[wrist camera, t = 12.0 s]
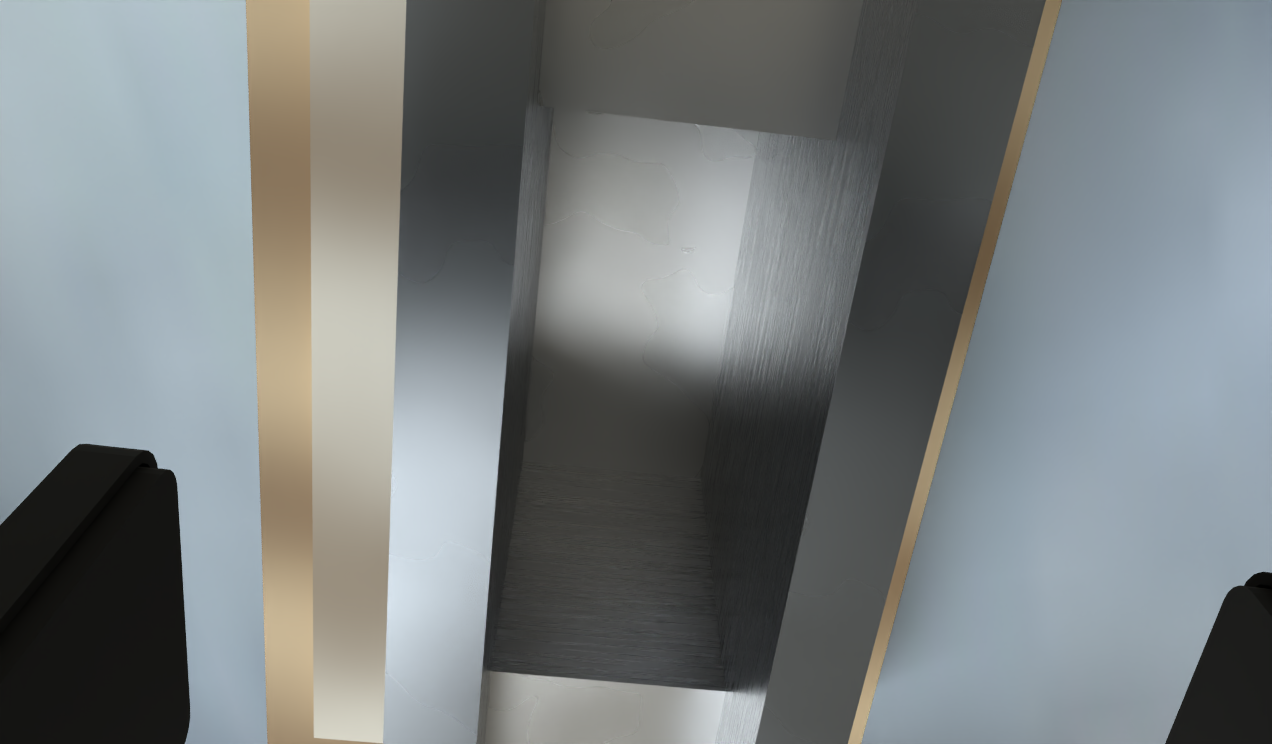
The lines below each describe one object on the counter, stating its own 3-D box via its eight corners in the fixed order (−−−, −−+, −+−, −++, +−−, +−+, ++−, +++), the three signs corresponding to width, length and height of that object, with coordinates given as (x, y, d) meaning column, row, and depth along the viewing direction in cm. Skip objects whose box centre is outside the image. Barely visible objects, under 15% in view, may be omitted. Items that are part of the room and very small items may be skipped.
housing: (883, -213, 16) (1107, -231, 8) (724, 615, 22) (775, 1016, 14) (513, -265, 15) (417, -328, 8) (458, 591, 21) (375, 988, 14)
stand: (821, 706, 27) (846, 816, 24) (304, 662, 26) (263, 771, 23) (1137, -576, 16) (1250, -660, 14) (290, -709, 16) (213, -830, 13)
